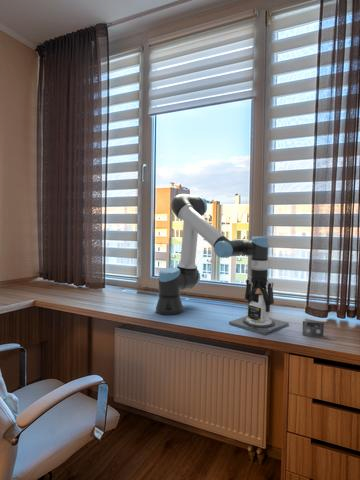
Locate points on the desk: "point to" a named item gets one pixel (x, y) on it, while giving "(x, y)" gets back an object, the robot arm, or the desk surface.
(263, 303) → the medicine bottle
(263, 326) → the plate
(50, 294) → the desk surface
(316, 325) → the mini dv tape
